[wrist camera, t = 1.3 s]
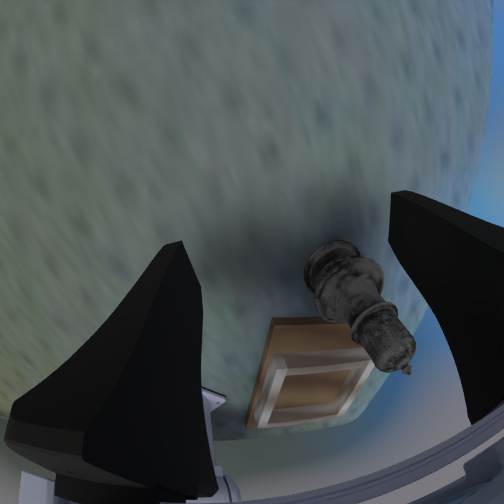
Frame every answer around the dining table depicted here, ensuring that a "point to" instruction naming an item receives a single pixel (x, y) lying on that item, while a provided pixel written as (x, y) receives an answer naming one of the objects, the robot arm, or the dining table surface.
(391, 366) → the salt shaker
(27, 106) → the dining table surface
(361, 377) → the board
